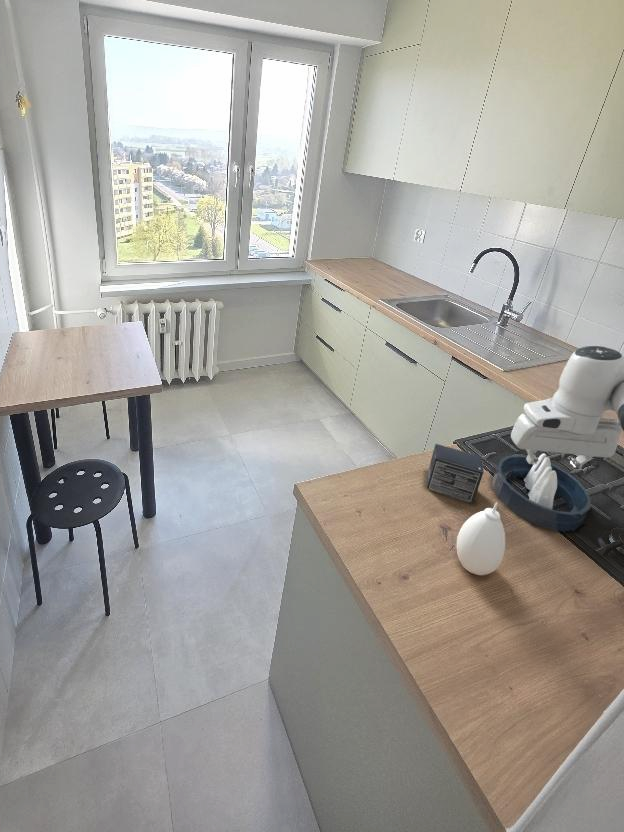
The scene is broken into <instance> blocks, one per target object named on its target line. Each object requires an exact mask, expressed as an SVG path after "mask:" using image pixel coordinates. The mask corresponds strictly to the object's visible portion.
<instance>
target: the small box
mask: <svg viewBox="0 0 624 832" xmlns="http://www.w3.org/2000/svg"><path fill="white" fill-rule="evenodd" d="M484 473H485V470H484V462H483V457H482V456H481V455H478V454H474V453H471V452H467V451H464V450H460V449H456V448H454V447H449V446H446V445H442V444H439V443H435V444H434V448H433V451H432V455H431V459H430V462H429V467H428V470H427V473H426V489H427V490H429V491H433V492H436V493H439V494H442V495H445V496H447V497H451V498H454V499H457V500H460V501H464V502H466V503H470V504H475V503H474V502H475V498H476V496H477V493H478V490H479V488H480V484H481V481H482V478H483V475H484Z"/></svg>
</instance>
